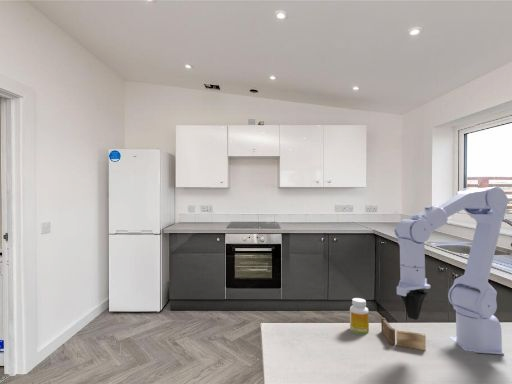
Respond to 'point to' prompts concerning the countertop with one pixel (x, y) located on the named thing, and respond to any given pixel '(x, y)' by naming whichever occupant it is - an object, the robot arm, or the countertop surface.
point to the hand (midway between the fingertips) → (413, 318)
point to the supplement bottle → (359, 316)
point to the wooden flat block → (411, 340)
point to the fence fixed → (388, 331)
